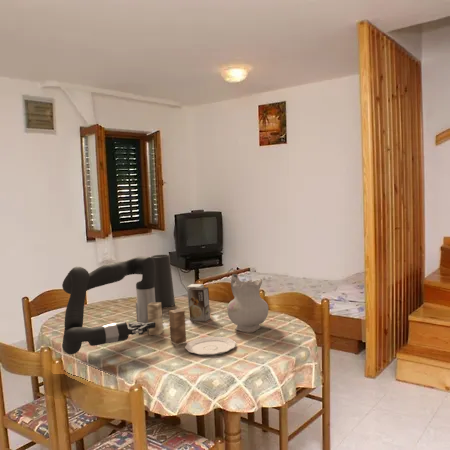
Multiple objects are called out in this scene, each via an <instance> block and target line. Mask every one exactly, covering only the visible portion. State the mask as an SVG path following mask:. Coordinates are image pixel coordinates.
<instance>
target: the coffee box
mask: <svg viewBox="0 0 450 450" xmlns="http://www.w3.org/2000/svg"><path fill="white" fill-rule="evenodd" d="M209 293H210V291H209V287H207V286H206V287H205V286H204V287H192V288H190V289H188V292H187V297H188V296H189V306H188V309H189V310H188V311H189V320H190V321H194V322H195V321H197V322H207V321H208V320H210V319H211V307H210V297H209V296H210V294H209Z"/></svg>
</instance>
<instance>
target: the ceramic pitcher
mask: <svg viewBox="0 0 450 450" xmlns="http://www.w3.org/2000/svg"><path fill="white" fill-rule="evenodd" d="M262 283H263V279H261V278H260V279H259V280H257V279H256V280H255V281H254V280H252V279H249V280H246V281H245V280H240V278H239V276H238V274H236V273H232V275H231V278H230V287H231V292H232V295H233V297H234V298H233V299H231V300H230V302H229V303H228V305H227V307H226V308H227V317H228V319H229V320H230V321H231V323H232V324H234V325H236V327H235V330H237V331H240V332H242V333H254V332H256V331H258V330H259V329H261V328H262V327H261V324H263V323H264V322H265V321H266V320H267V318H268V314H269V304H268V303H267V301H265V299H263V298H262V297H261V295H260V289H261V286H262V285H263V284H262Z"/></svg>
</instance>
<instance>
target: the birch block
mask: <svg viewBox="0 0 450 450" xmlns="http://www.w3.org/2000/svg"><path fill="white" fill-rule="evenodd" d="M162 309H163V308H162V307H161V302H151V303H149V304H148V305H147V310H148V323H149V322H155V328H150V329H148V335H149V336H160V335H161V334H162V333H163V332H164V327H163V326H164V325H163V314H162V313H163V311H162Z"/></svg>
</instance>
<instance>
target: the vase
mask: <svg viewBox="0 0 450 450" xmlns="http://www.w3.org/2000/svg"><path fill="white" fill-rule="evenodd" d="M150 257H151V258H153V260H154V262H155V284H154V288H155V302H161V307H162V309H163V308H164V309H165V308H169V307H173V306H175V304H176V302H175V294H174V284H173V276H172V267H171V265H172V264H171V258H170V255H169V254H156V255H151V256H150Z"/></svg>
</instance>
